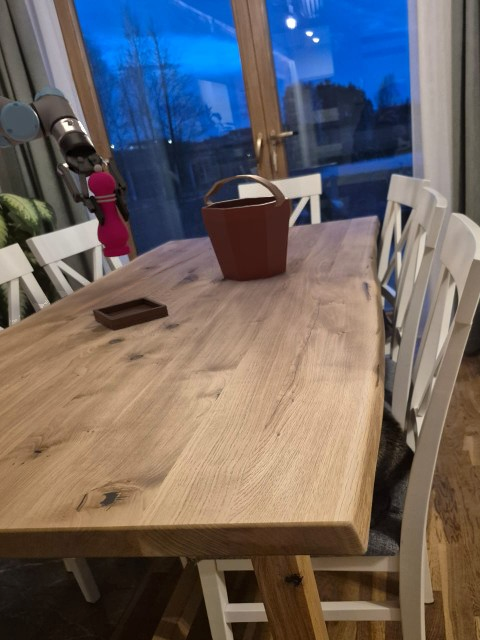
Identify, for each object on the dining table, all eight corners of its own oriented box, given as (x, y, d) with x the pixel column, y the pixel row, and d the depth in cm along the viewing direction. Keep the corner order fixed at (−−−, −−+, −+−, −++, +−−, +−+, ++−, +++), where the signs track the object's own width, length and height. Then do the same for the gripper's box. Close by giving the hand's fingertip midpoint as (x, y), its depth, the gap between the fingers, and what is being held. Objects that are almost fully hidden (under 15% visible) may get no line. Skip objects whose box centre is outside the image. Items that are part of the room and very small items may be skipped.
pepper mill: (125, 250, 142) (105, 163, 134) (138, 252, 137) (118, 162, 129) (97, 256, 138) (75, 166, 130) (109, 259, 133) (87, 166, 125)
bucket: (198, 277, 161) (181, 181, 151) (260, 259, 174) (248, 171, 163) (251, 287, 144) (235, 180, 133) (315, 267, 156) (306, 168, 146)
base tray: (95, 319, 132) (92, 310, 131) (147, 306, 138) (144, 296, 137) (113, 330, 122) (111, 320, 121) (168, 315, 128) (166, 305, 127)
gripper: (34, 135, 129) (76, 214, 124) (112, 127, 138) (154, 201, 133) (35, 161, 136) (75, 238, 130) (110, 152, 145) (150, 224, 139)
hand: (115, 219), depth 132 cm, fingers closed on pepper mill, 5 cm apart
